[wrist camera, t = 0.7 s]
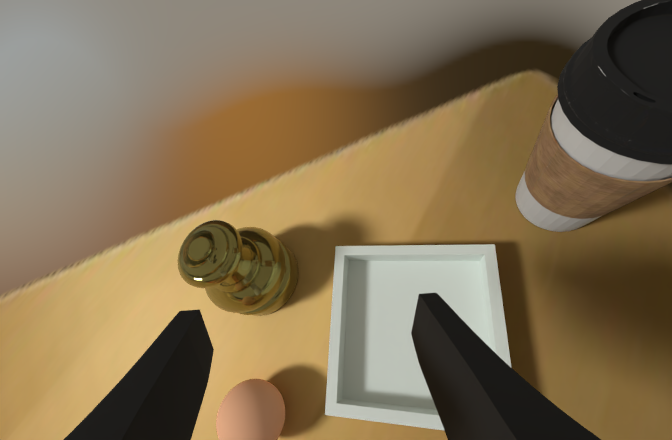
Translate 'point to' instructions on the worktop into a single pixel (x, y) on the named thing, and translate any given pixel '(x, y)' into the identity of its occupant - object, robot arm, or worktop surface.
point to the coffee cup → (605, 123)
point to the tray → (402, 324)
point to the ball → (251, 412)
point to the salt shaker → (239, 267)
